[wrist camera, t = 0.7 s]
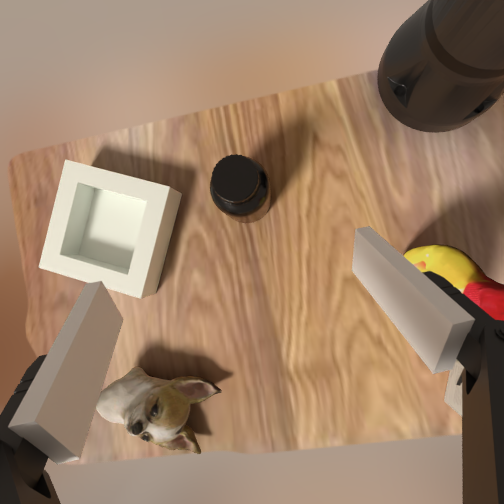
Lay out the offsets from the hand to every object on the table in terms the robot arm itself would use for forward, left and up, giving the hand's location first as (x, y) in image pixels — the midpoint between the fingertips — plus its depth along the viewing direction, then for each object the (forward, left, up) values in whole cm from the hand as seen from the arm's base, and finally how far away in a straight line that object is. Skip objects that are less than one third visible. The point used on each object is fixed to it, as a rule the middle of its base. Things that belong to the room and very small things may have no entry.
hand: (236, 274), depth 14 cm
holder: (+21, +1, -24) cm, 32 cm away
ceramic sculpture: (+8, +23, -25) cm, 35 cm away
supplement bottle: (+4, -8, -25) cm, 26 cm away
